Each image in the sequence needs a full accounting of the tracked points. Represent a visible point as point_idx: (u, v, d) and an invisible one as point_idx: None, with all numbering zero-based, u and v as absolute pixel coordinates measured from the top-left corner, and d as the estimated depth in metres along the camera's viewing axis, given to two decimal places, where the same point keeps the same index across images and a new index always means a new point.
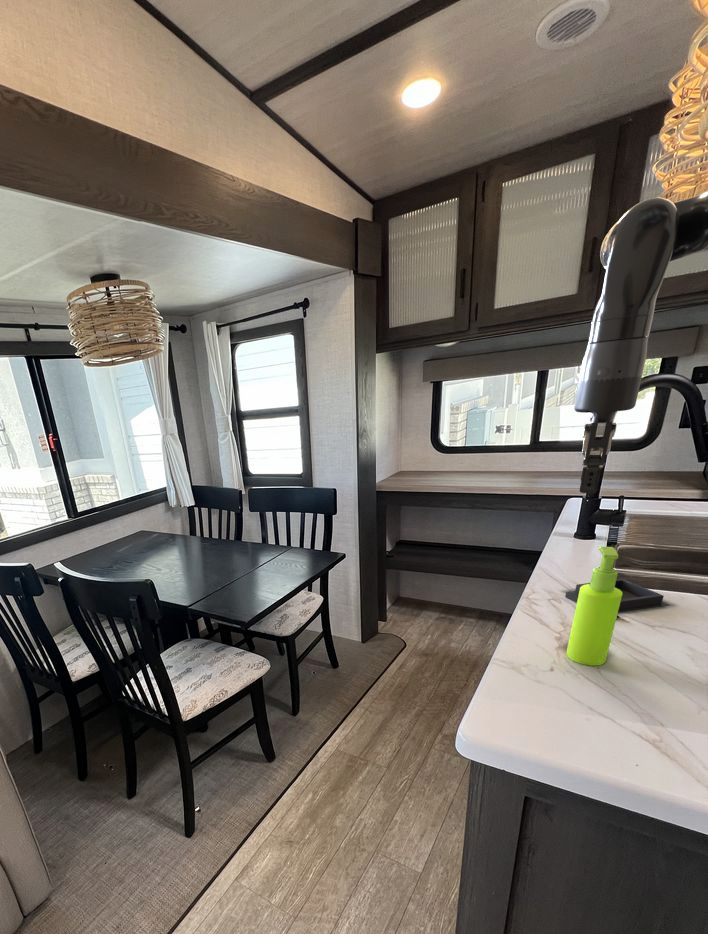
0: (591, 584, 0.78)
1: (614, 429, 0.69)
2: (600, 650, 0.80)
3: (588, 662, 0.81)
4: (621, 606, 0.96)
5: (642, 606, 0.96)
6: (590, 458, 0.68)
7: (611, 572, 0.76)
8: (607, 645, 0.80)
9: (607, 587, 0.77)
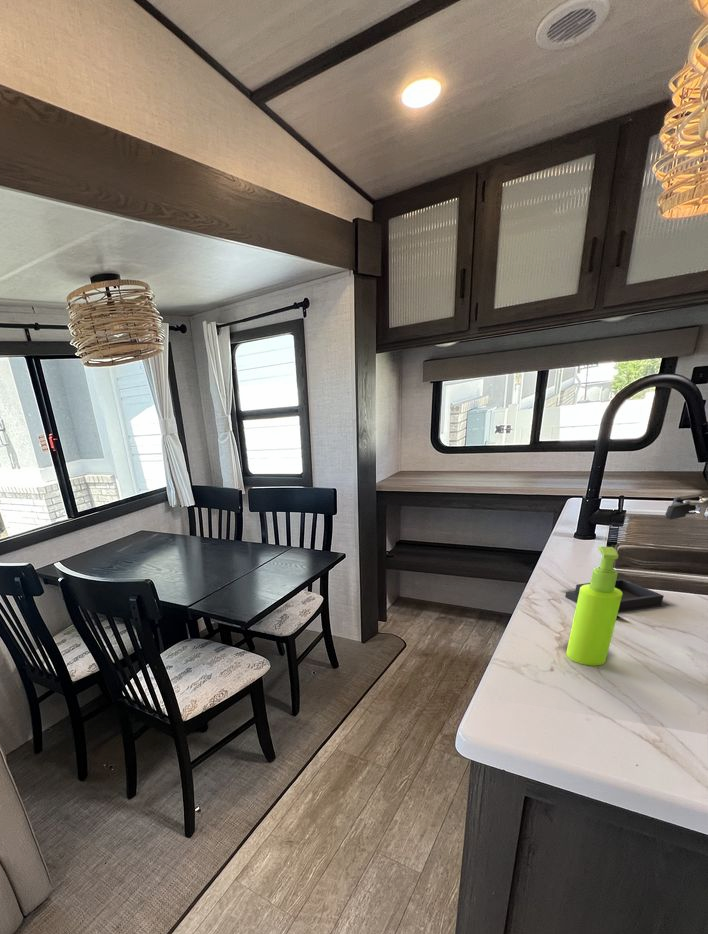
0: (591, 584, 0.78)
1: None
2: (600, 650, 0.80)
3: (588, 662, 0.81)
4: (621, 606, 0.96)
5: (642, 606, 0.96)
6: None
7: (611, 572, 0.76)
8: (607, 645, 0.80)
9: (607, 587, 0.77)
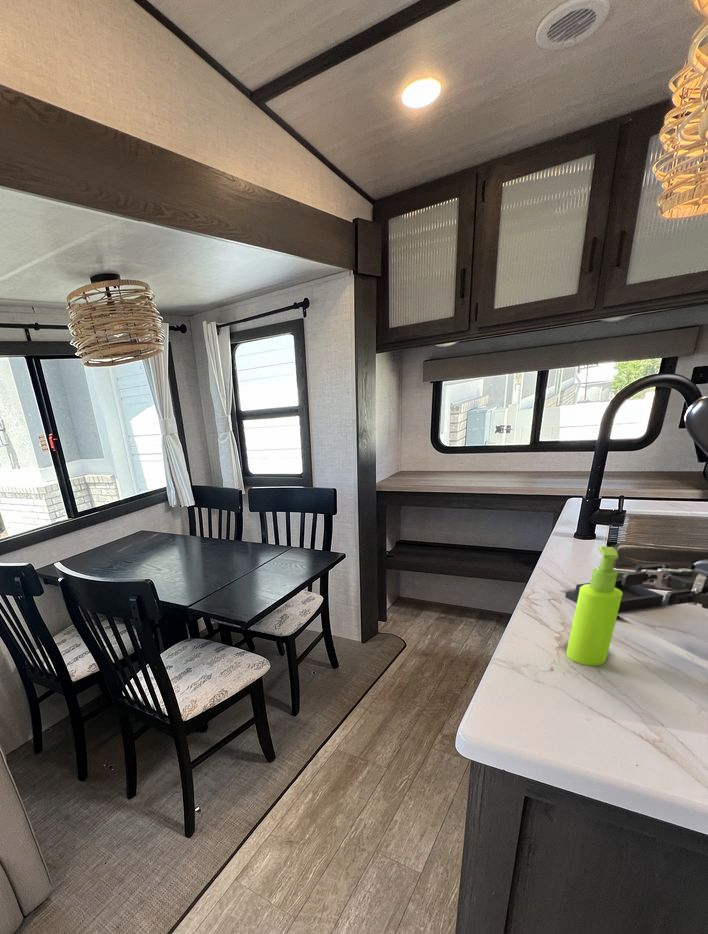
0: (591, 584, 0.78)
1: (683, 569, 0.82)
2: (600, 650, 0.80)
3: (588, 662, 0.81)
4: (621, 606, 0.96)
5: (642, 606, 0.96)
6: None
7: (611, 572, 0.76)
8: (607, 645, 0.80)
9: (607, 587, 0.77)
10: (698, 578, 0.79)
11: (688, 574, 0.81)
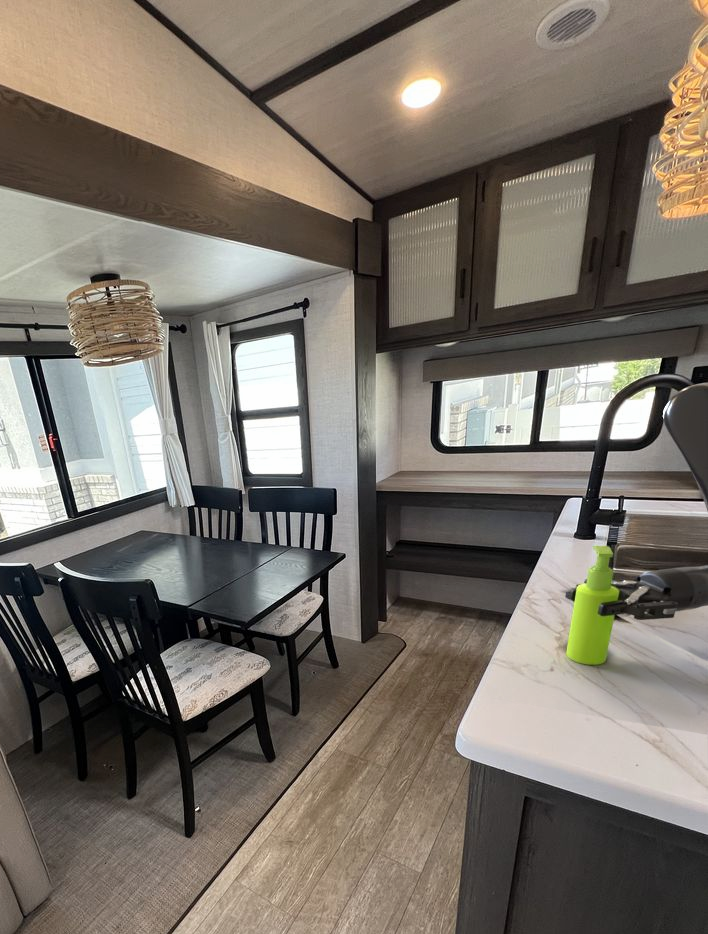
0: (587, 583, 0.79)
1: (627, 581, 0.81)
2: (599, 649, 0.80)
3: (588, 661, 0.81)
4: None
5: None
6: None
7: (607, 570, 0.76)
8: (606, 644, 0.80)
9: (604, 585, 0.77)
10: (639, 590, 0.78)
11: (632, 586, 0.80)
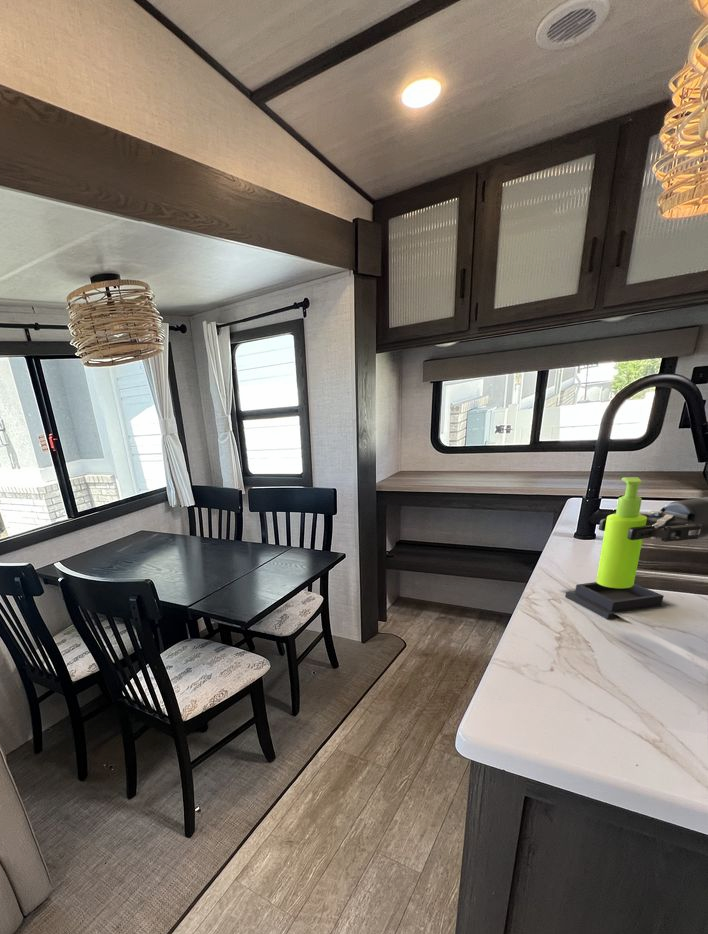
0: (617, 511, 0.86)
1: None
2: (628, 572, 0.87)
3: (618, 585, 0.88)
4: (621, 606, 0.96)
5: (642, 606, 0.96)
6: None
7: (635, 498, 0.84)
8: (635, 568, 0.87)
9: (633, 512, 0.84)
10: (665, 517, 0.85)
11: (658, 515, 0.88)
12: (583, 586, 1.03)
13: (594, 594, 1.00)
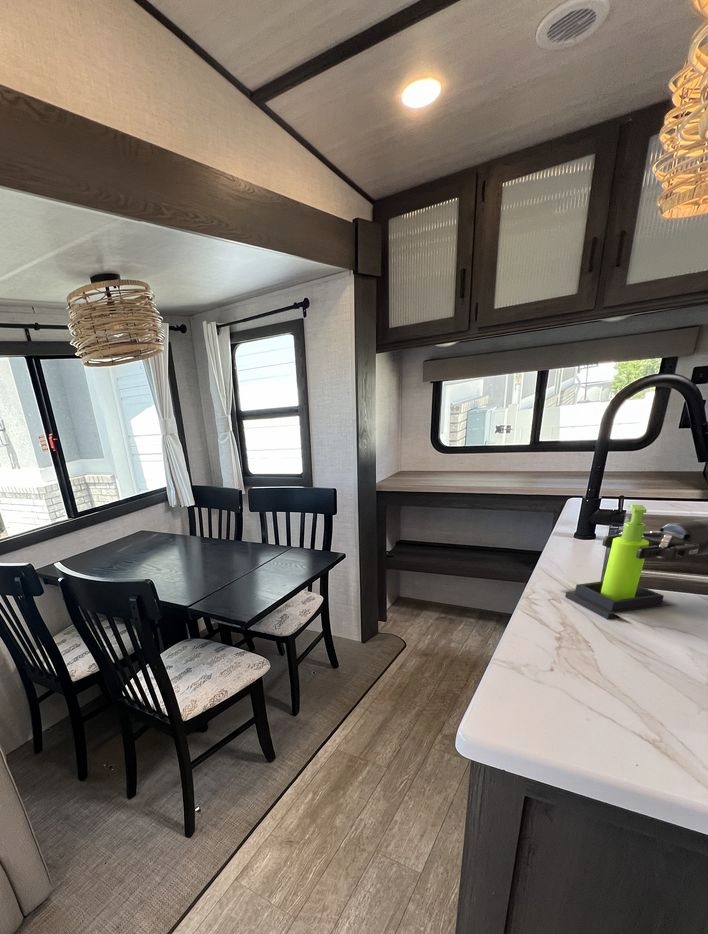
0: (623, 535, 0.95)
1: (653, 531, 0.98)
2: (629, 590, 0.97)
3: None
4: (621, 606, 0.96)
5: (642, 606, 0.96)
6: None
7: (640, 524, 0.93)
8: (635, 586, 0.97)
9: (637, 537, 0.93)
10: (665, 537, 0.94)
11: (657, 535, 0.97)
12: (583, 586, 1.03)
13: (594, 594, 1.00)
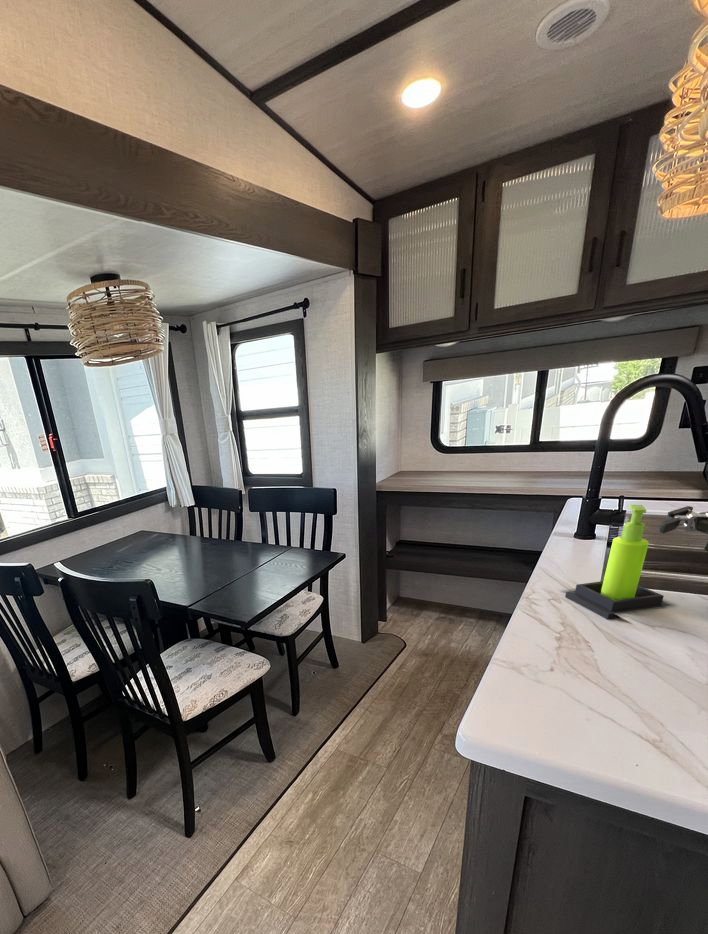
0: (622, 535, 0.95)
1: None
2: (629, 590, 0.97)
3: None
4: (621, 606, 0.96)
5: (642, 606, 0.96)
6: None
7: (640, 524, 0.93)
8: (635, 586, 0.97)
9: (637, 537, 0.94)
10: None
11: None
12: (583, 586, 1.03)
13: (594, 594, 1.00)
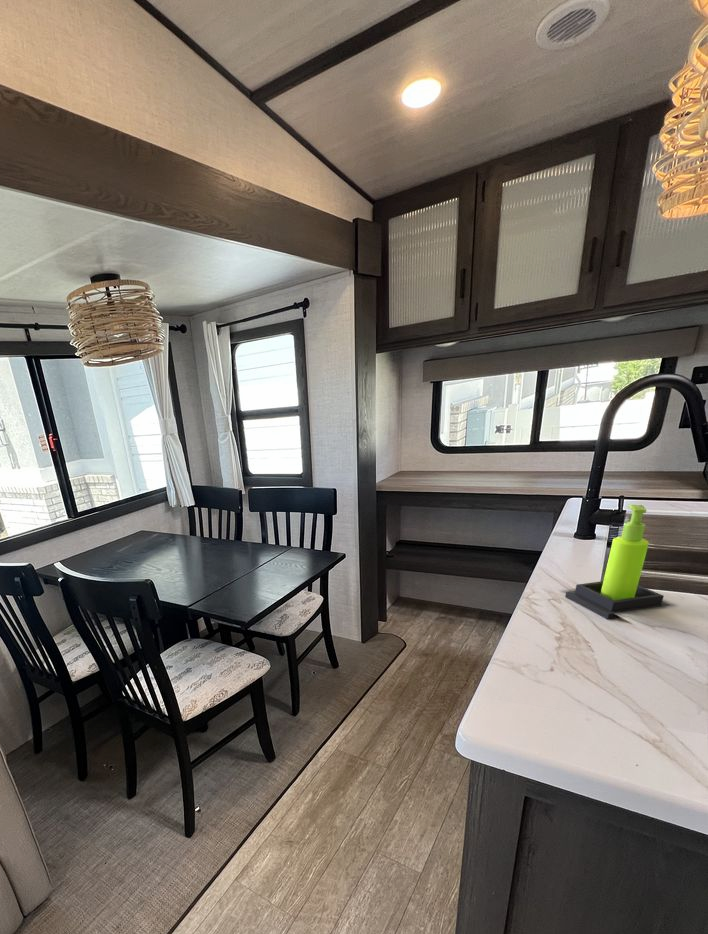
0: (623, 535, 0.95)
1: None
2: (629, 590, 0.97)
3: None
4: (621, 606, 0.96)
5: (642, 606, 0.96)
6: None
7: (640, 524, 0.93)
8: (635, 586, 0.97)
9: (637, 537, 0.93)
10: None
11: None
12: (583, 586, 1.03)
13: (594, 594, 1.00)
